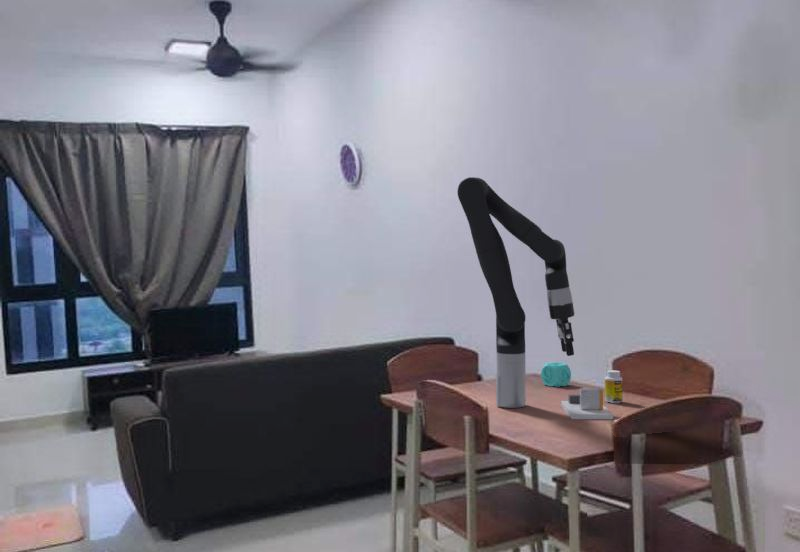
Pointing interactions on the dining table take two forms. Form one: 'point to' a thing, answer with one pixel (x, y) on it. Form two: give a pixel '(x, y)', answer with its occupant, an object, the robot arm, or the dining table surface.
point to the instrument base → (576, 413)
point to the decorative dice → (556, 374)
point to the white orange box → (591, 398)
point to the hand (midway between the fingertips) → (568, 353)
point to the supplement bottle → (613, 387)
